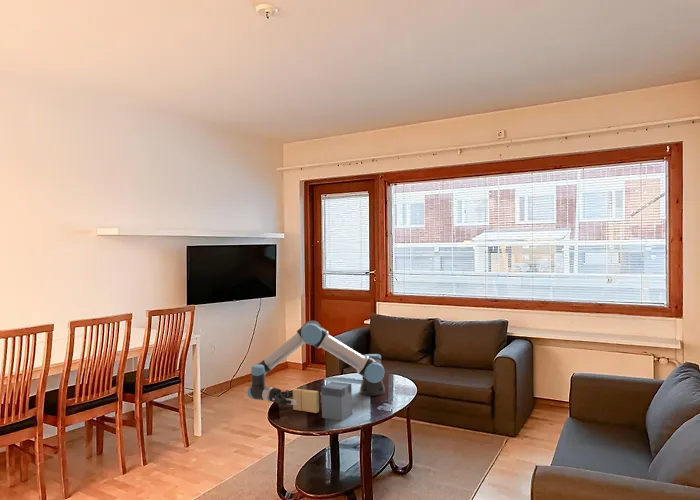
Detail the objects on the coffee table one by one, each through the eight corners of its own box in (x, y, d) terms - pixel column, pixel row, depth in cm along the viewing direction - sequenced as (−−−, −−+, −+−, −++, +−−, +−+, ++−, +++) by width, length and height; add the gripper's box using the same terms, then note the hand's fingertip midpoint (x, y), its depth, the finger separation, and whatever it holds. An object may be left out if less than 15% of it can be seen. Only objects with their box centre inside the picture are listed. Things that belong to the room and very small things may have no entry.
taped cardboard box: (293, 409, 274) (292, 389, 274) (295, 408, 276) (295, 388, 276) (316, 413, 267) (315, 392, 267) (319, 411, 269) (318, 391, 269)
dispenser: (321, 417, 261) (320, 386, 261) (331, 410, 271) (330, 381, 270) (342, 420, 255) (341, 389, 255) (352, 414, 265) (351, 383, 265)
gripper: (285, 395, 293) (316, 399, 283) (258, 407, 271) (290, 412, 261) (284, 382, 293) (315, 386, 283) (258, 394, 271) (290, 398, 261)
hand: (303, 398), depth 272 cm, fingers open, 13 cm apart
